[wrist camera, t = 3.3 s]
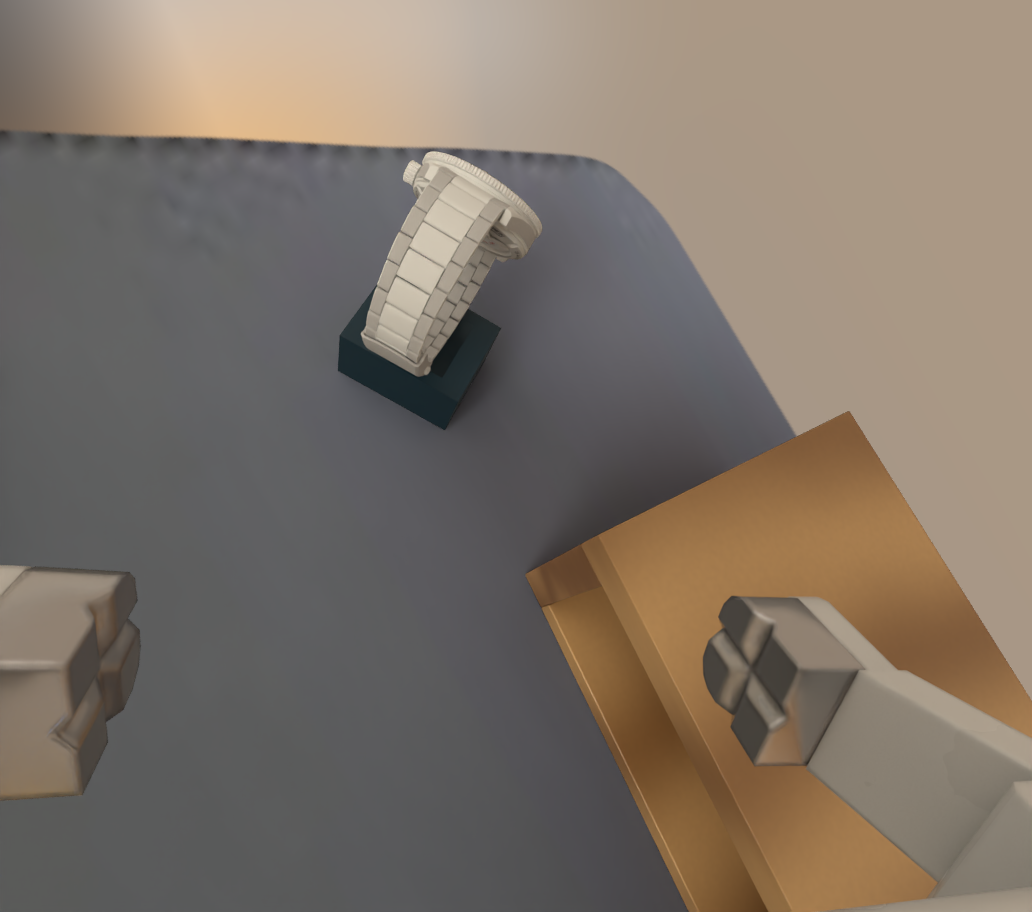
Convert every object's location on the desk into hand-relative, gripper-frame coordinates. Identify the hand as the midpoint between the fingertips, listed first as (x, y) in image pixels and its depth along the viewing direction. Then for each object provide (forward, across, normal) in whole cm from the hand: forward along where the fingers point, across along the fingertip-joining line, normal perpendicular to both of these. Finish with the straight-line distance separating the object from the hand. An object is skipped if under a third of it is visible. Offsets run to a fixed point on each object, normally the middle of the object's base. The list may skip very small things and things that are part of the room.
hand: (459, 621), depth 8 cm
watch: (+22, -1, +3) cm, 22 cm away
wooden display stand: (+11, -16, +14) cm, 24 cm away
